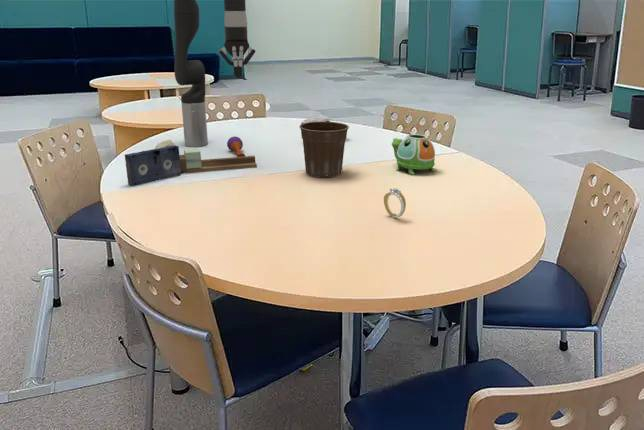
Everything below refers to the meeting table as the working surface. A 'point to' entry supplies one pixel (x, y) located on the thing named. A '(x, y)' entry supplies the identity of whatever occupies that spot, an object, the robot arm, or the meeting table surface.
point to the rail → (219, 164)
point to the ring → (401, 198)
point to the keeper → (193, 158)
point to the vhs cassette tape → (152, 165)
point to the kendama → (235, 145)
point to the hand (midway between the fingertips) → (238, 77)
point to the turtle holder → (414, 153)
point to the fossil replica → (164, 144)
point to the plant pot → (323, 147)
